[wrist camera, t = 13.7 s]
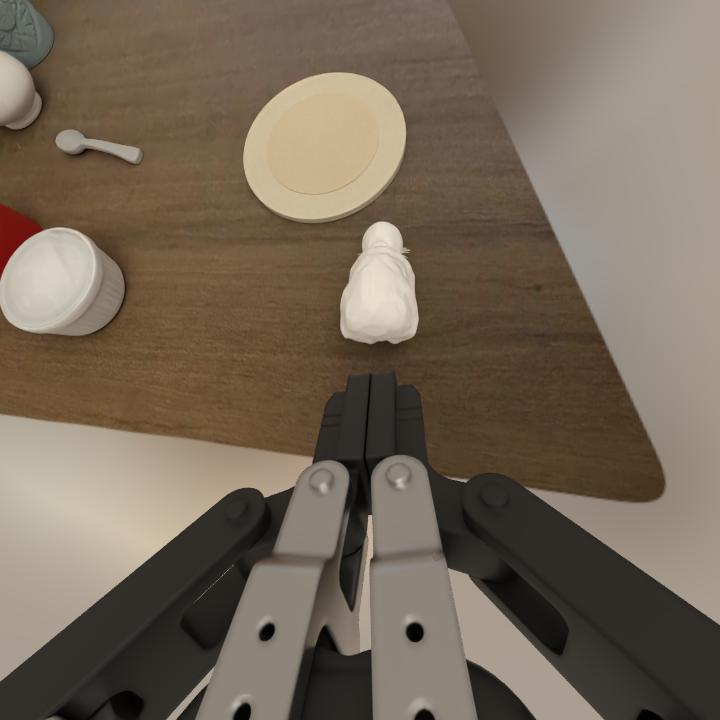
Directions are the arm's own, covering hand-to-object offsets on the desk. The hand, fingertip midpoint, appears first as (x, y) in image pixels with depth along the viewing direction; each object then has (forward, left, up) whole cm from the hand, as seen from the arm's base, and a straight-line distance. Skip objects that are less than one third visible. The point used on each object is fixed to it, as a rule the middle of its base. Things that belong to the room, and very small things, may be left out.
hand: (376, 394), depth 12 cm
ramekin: (+34, -17, -22) cm, 44 cm away
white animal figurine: (+1, -12, -22) cm, 25 cm away
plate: (+6, -30, -21) cm, 37 cm away
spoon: (+34, -36, -22) cm, 54 cm away
